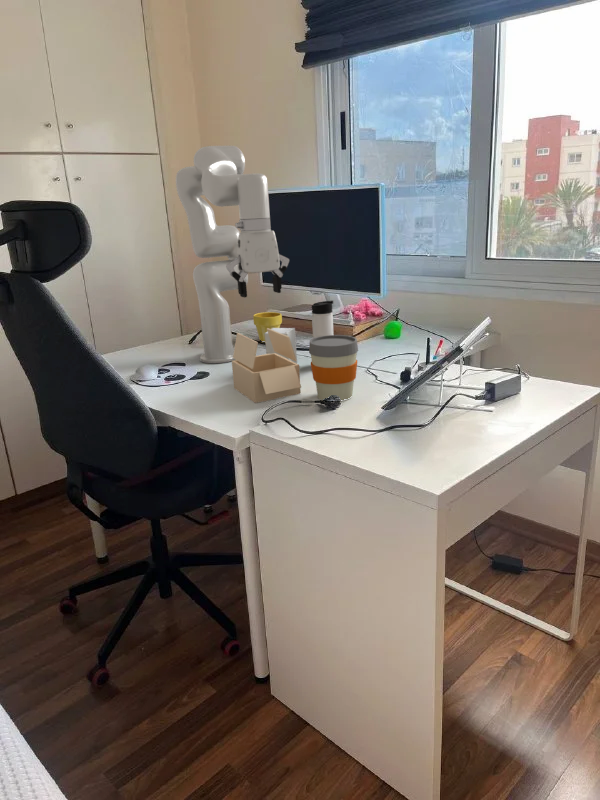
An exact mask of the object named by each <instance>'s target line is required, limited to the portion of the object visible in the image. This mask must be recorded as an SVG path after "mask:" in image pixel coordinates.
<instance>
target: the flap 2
mask: <svg viewBox="0 0 600 800" xmlns="http://www.w3.org/2000/svg"><path fill="white" fill-rule="evenodd" d="M267 331H268V334H269V337H270V340H271V343H272V346H273V349H274V351H275V352H277V353H279V354H281V355H283V356H285V357H287V358H290V359H292V360H294V361H297V362H298V359H297V360H296V356H295V353H294V350H293V347H292V344H291V341H290V338H289V336H286V335H284V334H281V333H279V332H276V331H274V330H271V329H269V328H267Z"/></svg>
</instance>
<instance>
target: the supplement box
mask: <svg viewBox="0 0 600 800" xmlns="http://www.w3.org/2000/svg"><path fill="white" fill-rule="evenodd" d="M271 330H274V331H276V332H279V333H281V334H284V335H286V336H289V338H290V341H291V344H292V347H293V350H294V353H295V356H296V360H297V361H294V360H292V359H290V358H287V357H285V356H283V355H281V354H279V353H277V352H275V351H274V349H273V346H272V343H271V340H270V337H269V334H268V331H267V332H266V333H264V334H265V354H273V353H276V354H278V355H280V356H282V357H284V358H286V359H288V360H290V361H292V362H294V363H296V364H298V357H297V356H298V355H297V341H296V340H297V339H296V328H295V327H280V328H272V329H271Z"/></svg>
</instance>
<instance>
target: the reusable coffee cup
mask: <svg viewBox="0 0 600 800" xmlns="http://www.w3.org/2000/svg"><path fill="white" fill-rule="evenodd" d="M358 351H359V346H358V339H357V337H354V336H352V335H346V334H345V335H344V334H333V335H327V336H321V337H316V338H313V337H312V339H309V346H308V353H309V355H310V357H311V361H310V368H311V373H312V379H313V381H314V382H315V386H316V392H317V399H318V400H320V401H323V399H325V398H328V397H329V396H331V395H337V396H339V397H340V399H341V400H344V399H348V398H350V397H351V396H352V397H353V393H354V382H355V380H356V378H357V370H358V360H357V354H358ZM350 399H351V398H350ZM348 400H349V399H348Z"/></svg>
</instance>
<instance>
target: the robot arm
mask: <svg viewBox="0 0 600 800" xmlns="http://www.w3.org/2000/svg"><path fill="white" fill-rule="evenodd" d="M245 169H246V158H245V155H244V153H243V151H242V150H241V149H240V148H239V147H238V146H237V145H208V146H202V147H201V148H198V150H197V151H196V152H195V154H194V155H193V166H192V165H191V166H186V167H183V168H180V169H179V170H178V171H177V173H176V175H175V186H176V187H175V188H176V192H177V195H178V199H179V201H180V203H181V205H182V207H183V209H184V211H185V213H186V217H187V222H188V228H189V234H190V240H191V245H192V250H193V253H194V254H195V256H196V257H198V258H201V259H209V258H210V259H211V258H219V257H227V260H216V261H215V260H214V261H213V260H212V261H206V262H205V261H204V262H202V263H199V264H197V265H196V266H195V267H194V268H193V272H192V278H193V279H192V280H193V283H194V287H195V292H196V294H197V300H198V307H199V315H200V323H201V334H202V342H203V343H202V344H203V354H201V355H200V356H199V358H200V359H199V360H200V362H202V363H205V364H223V363H229V362H232V361H233V360H236V359H234V358H233V355H234V346H233V335H232V324H231V314H230V305H229V303H228V301H227V300H226V299H225V297H223V295H222V294H221V292H225V291H226V292H227V291H232V290H233V291H234V290H238V294H239V295H240V297H241V298H248V291H247V286H248V283H249V274H259V273H267V272H271V273H272V274H273V276H272V289H273V292H274V293H277V294H280V293H282V289H283V286H282V277H283V275H284V273H285V272H286V271H287V269H288V266H289V263H290V258H288V257H286V256H284V255H282V254H280V253H279V252H280V251H279V247H278V242H277V237H276V233H275V231H274V230H272V229H271V228H272V227H271V215H270V199H269V183H268V177H267V176H266V175H265V174H264V173H244V172H245ZM202 196H204V198H206V200H205V199H204V198H203V197H202ZM208 201H209V202H210V203H211V204H212V205H213V206H216V207H230V206H231V207H235V206H238V212H239V221H238V222H235V225H230V224H229V225H218V224H217V223H216V216H215V211H214V209H213V207H212V206H211V205H210V204H209V202H208ZM280 263H281V264H280Z"/></svg>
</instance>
